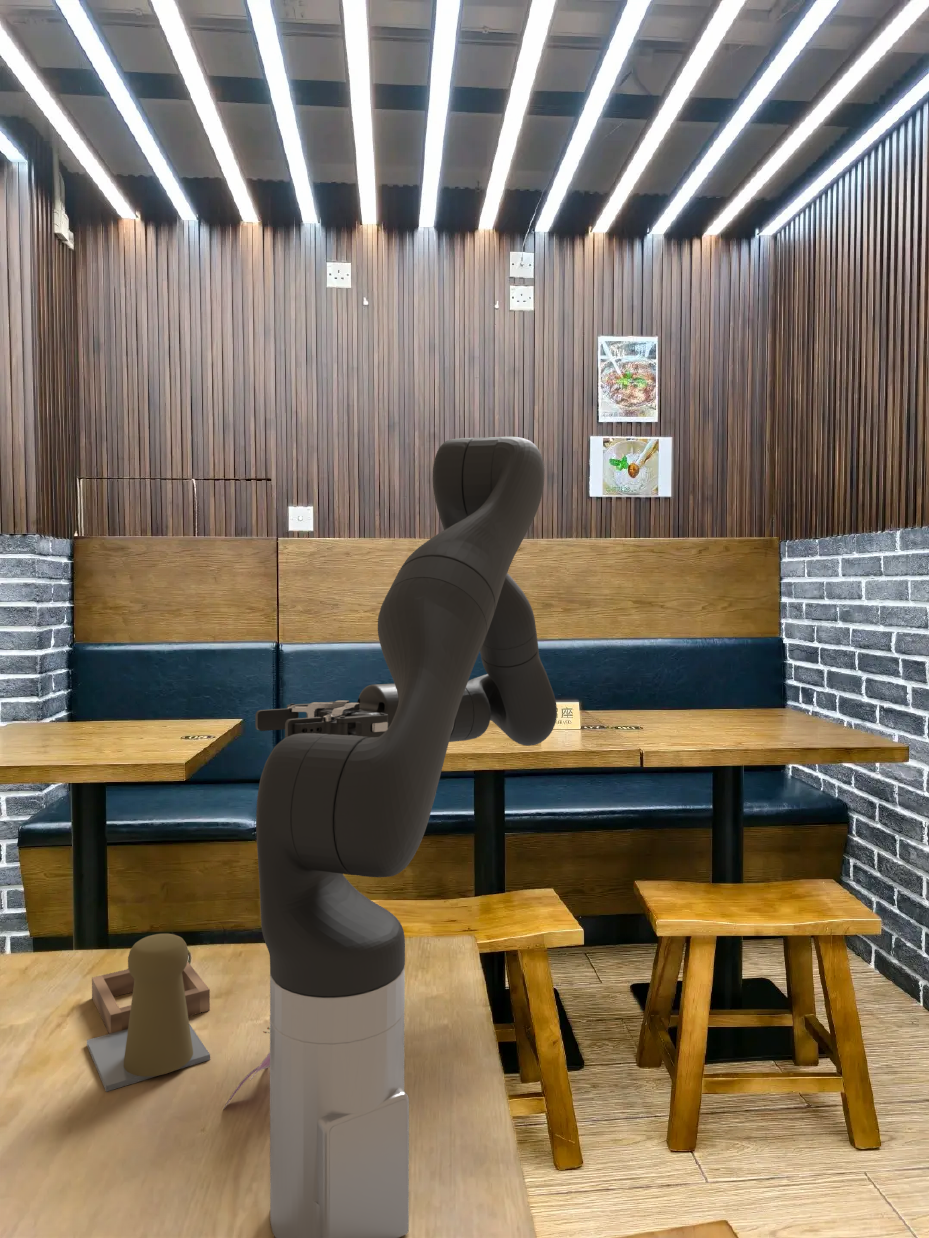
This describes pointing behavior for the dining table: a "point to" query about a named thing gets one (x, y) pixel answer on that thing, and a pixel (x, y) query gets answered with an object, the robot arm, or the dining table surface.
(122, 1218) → the dining table surface
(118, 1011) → the caddy
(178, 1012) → the cork
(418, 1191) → the dining table surface
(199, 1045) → the plate
